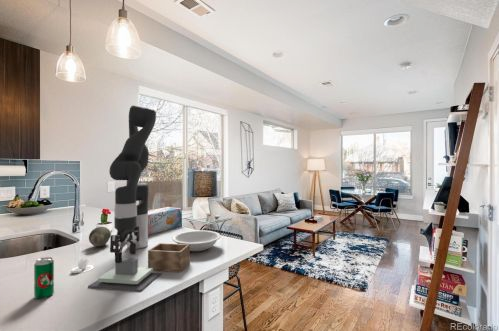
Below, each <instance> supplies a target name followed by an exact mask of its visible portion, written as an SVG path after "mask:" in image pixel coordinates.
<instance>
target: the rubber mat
mask: <svg viewBox="0 0 499 331" xmlns="http://www.w3.org/2000/svg"><path fill="white" fill-rule="evenodd" d="M161 274H162V273H161V272H159V271H158V272H156V271H155V272H154V271H153V272H151V273H150V274H149V275H148V276H147V277H145V278H144V279H143V280H142V281H140V282H139V283H138V284H120V283H106V282H98V279H97V280H95V281H93V282H92V283H90V284H89V285H88V286H87V288H88V289H89V288H90V289H101V290H114V291H115V290H116V291H128V292H129V291H130V292H139V293H140V292H142V291H144V290H145V289H146V288H147V287H148V286H149V285H150V284H151V283H152V282H154V281H155V280H156V279H157V278H159V277H160V276H161Z"/></svg>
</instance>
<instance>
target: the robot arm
mask: <svg viewBox="0 0 499 331" xmlns="http://www.w3.org/2000/svg"><path fill="white" fill-rule="evenodd" d="M156 119H157V113H156V110H155V109H154V108H150V107H146V106H141V105H135V104H134V105H131V106H130V108H129V111H128V138H127V139H126V141H125V143H124V145H123V147H122V150H121V152H120V153H119V154H118V156H117V157H115V159H114V160H113V161H112V163H111V164H110V167H109V171H108V172H109V175H110V177H111V179H112V180H115V181H126V185H124V186H120V187H119V186H118V187H117V188H116V189H115V192H114V193H115V195H114V197H115V199H114V200H115V202H114V203H115V204H114V211H113V213H114V218H113V219H114V222H113V224H114V229H115V230H116V234H111V237H110V239H109V240H110V243H109V252H110V253H111V254H112V253H113V254H114V263H121V262H122V258H123V250H124V248H125V246H126V247H127V248H129V250H128V251H129V255H132V256H133V255H136V252H137V249H143V248H146V247H148V246H149V235H148V210H149V185H148V184H147V182H146V183H145V182H140V183H139V180H140V178H141V175H142V173H143V171H144V170H146V168H147V166H148V165H149V164H148V163H149V156H150V152H149V149H148V147H147V145H146V142H147V141H148V138H149V137H150V135H151V133H152V132H153V129H154V127H155V125H156ZM139 128H141V129H140V130H139ZM138 201H139V202H140V203H138V204H137V202H138Z"/></svg>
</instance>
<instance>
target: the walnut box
mask: <svg viewBox="0 0 499 331" xmlns="http://www.w3.org/2000/svg"><path fill="white" fill-rule="evenodd" d="M190 253H191V251H190V245H189V244H177V243H167V242H165V243H163V242H159V243H158V244H156V245H155V246H153V247H150V248H149V249H148V250H147V268H153V271H155V272H156V271H158V272H170V273H171V272H173V273H182V271H183V270H185V268H186V267H187V266H188V265H190V262H191V261H190V260H191V258H190V257H191V254H190Z"/></svg>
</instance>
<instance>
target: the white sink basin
mask: <svg viewBox="0 0 499 331" xmlns="http://www.w3.org/2000/svg"><path fill="white" fill-rule="evenodd" d="M220 238H221V234H220V233H219V232H216V231H212V230H203V229H201V230H189V231H183V232H179V233H177V234H175V235H173V237H172V242H175V244H189V245H190V252H202V251H206V250H208V249H209V250H210V248H212V247H213V246H214V245H216V243H217V241H218V240H220Z"/></svg>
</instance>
